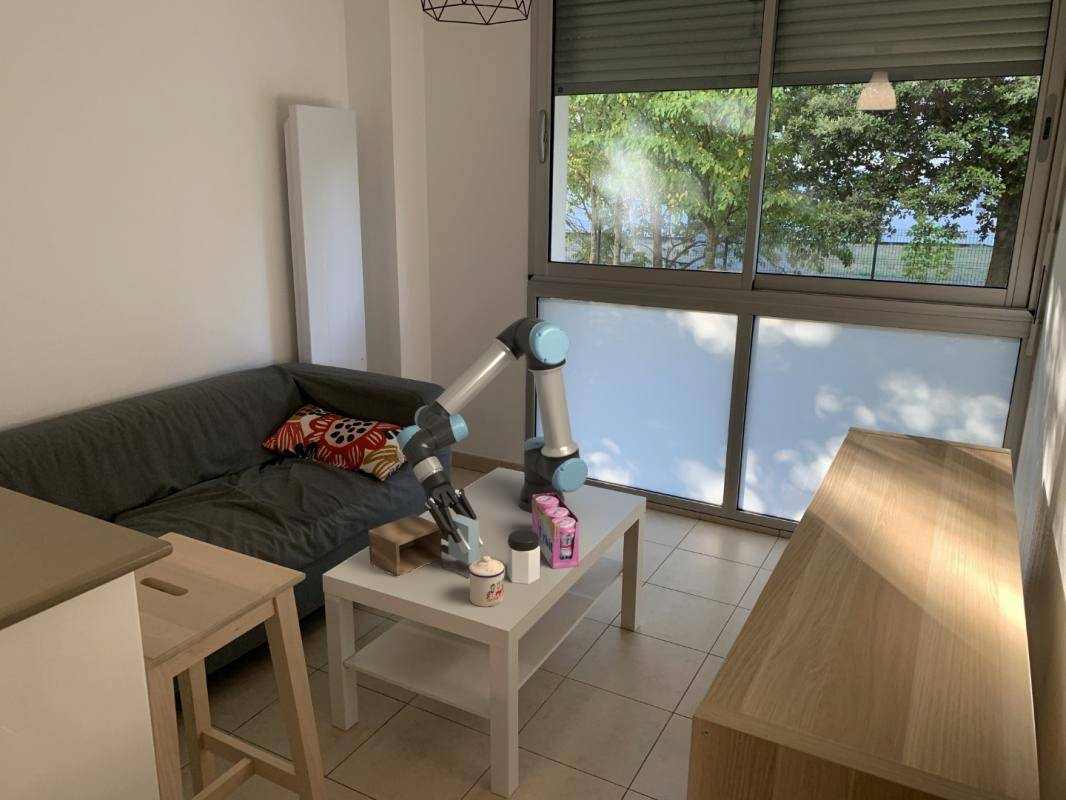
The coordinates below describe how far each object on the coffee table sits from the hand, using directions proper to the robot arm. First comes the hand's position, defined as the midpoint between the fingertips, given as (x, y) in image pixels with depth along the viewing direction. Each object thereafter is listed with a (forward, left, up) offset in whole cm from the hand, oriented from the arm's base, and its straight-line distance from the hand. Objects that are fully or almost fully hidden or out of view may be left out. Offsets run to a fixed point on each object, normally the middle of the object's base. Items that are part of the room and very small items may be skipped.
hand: (473, 548), depth 223 cm
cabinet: (+13, -2, -7) cm, 15 cm away
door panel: (+3, -2, -4) cm, 5 cm away
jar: (-14, 0, -7) cm, 16 cm away
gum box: (-20, -17, -7) cm, 28 cm away
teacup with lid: (-7, +12, -7) cm, 16 cm away
